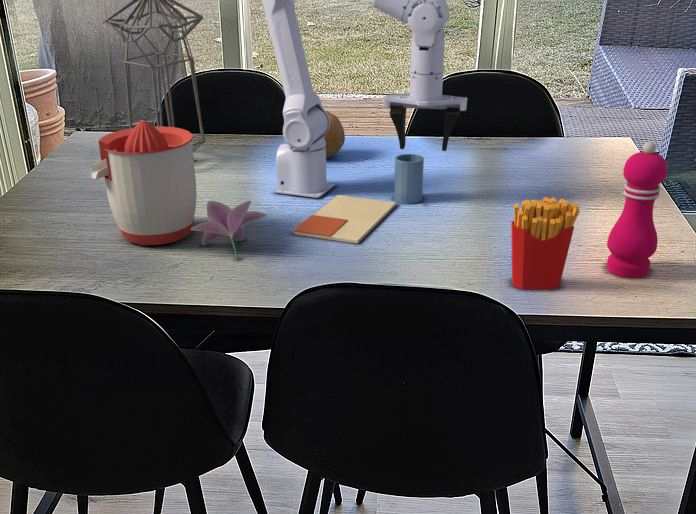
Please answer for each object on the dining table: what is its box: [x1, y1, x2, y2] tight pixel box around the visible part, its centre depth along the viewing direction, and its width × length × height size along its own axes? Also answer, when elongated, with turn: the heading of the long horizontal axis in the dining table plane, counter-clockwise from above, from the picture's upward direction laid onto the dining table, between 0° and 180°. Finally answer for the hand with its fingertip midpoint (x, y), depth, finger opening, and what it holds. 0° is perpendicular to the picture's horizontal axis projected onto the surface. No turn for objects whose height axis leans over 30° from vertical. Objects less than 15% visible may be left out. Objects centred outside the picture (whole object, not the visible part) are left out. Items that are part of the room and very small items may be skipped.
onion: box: [324, 110, 346, 160], centre depth 180 cm, size 10×10×10 cm
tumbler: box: [393, 153, 425, 205], centre depth 156 cm, size 5×5×8 cm
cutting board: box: [292, 194, 397, 245], centre depth 150 cm, size 12×20×1 cm, turn 157°
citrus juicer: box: [91, 119, 198, 247], centre depth 140 cm, size 16×17×20 cm
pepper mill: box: [605, 141, 668, 279], centre depth 124 cm, size 7×7×20 cm
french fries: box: [510, 196, 581, 291], centre depth 122 cm, size 9×4×13 cm, turn 85°
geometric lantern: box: [102, 0, 206, 160], centre depth 172 cm, size 16×16×35 cm
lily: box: [190, 200, 267, 260], centre depth 136 cm, size 12×12×10 cm
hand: (423, 148), depth 152 cm, fingers open, 7 cm apart
